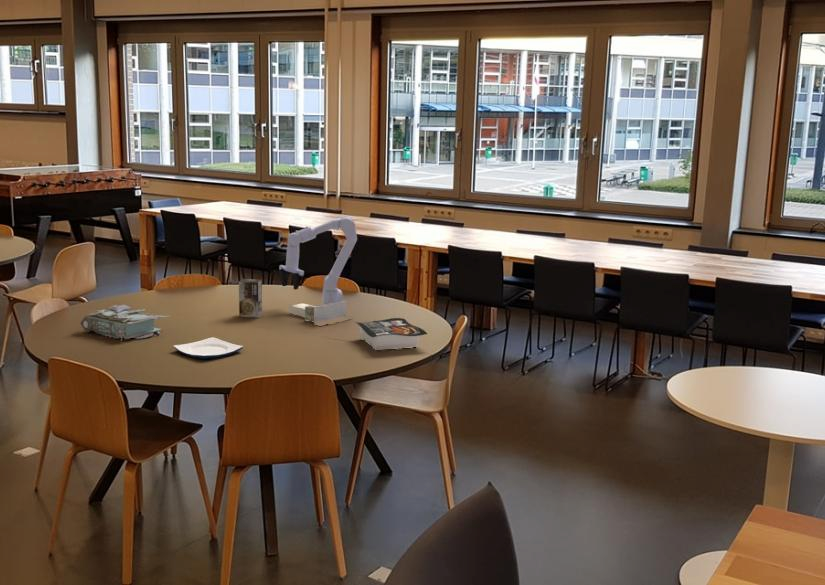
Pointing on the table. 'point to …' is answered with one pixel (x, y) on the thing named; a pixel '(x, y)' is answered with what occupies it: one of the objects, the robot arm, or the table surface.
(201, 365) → the table surface
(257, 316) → the coffee box
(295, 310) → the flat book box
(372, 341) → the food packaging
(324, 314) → the metal bookend
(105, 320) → the ornate clasped book
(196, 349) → the plate
